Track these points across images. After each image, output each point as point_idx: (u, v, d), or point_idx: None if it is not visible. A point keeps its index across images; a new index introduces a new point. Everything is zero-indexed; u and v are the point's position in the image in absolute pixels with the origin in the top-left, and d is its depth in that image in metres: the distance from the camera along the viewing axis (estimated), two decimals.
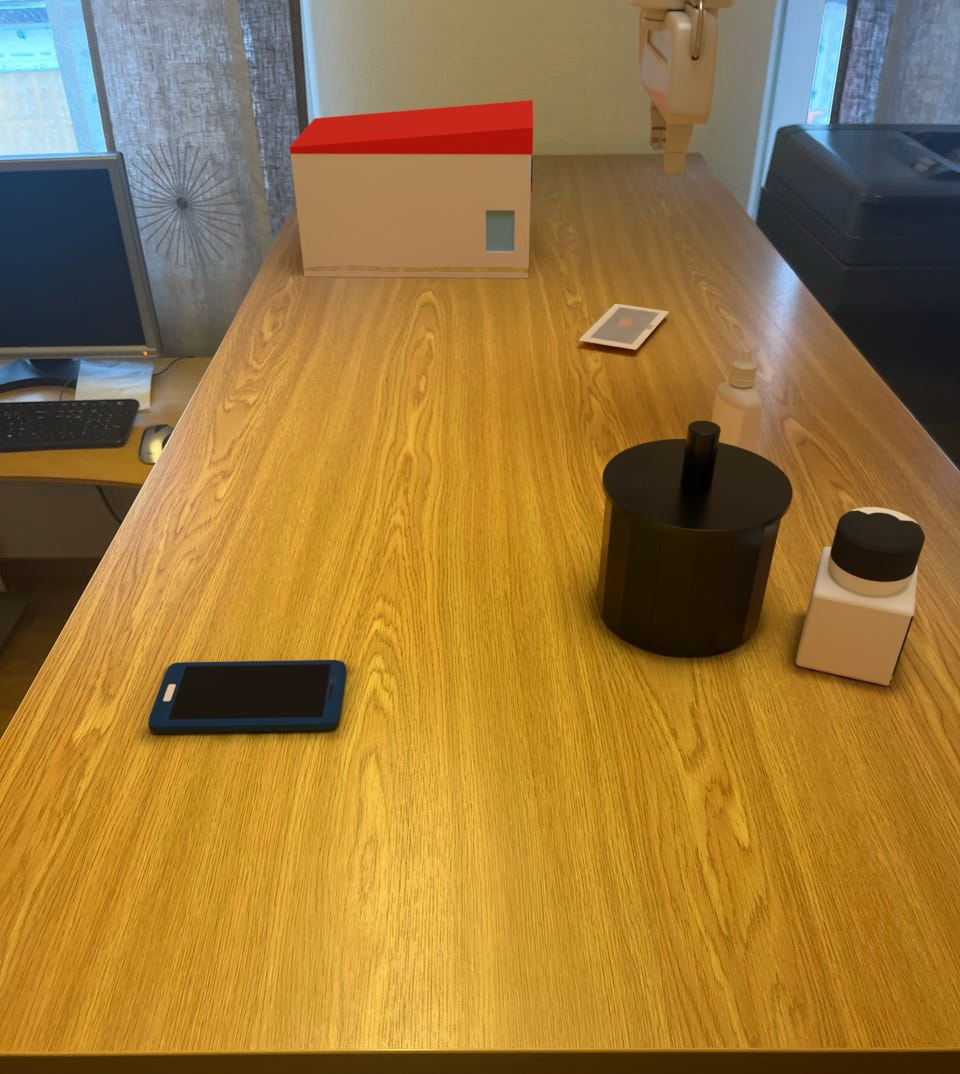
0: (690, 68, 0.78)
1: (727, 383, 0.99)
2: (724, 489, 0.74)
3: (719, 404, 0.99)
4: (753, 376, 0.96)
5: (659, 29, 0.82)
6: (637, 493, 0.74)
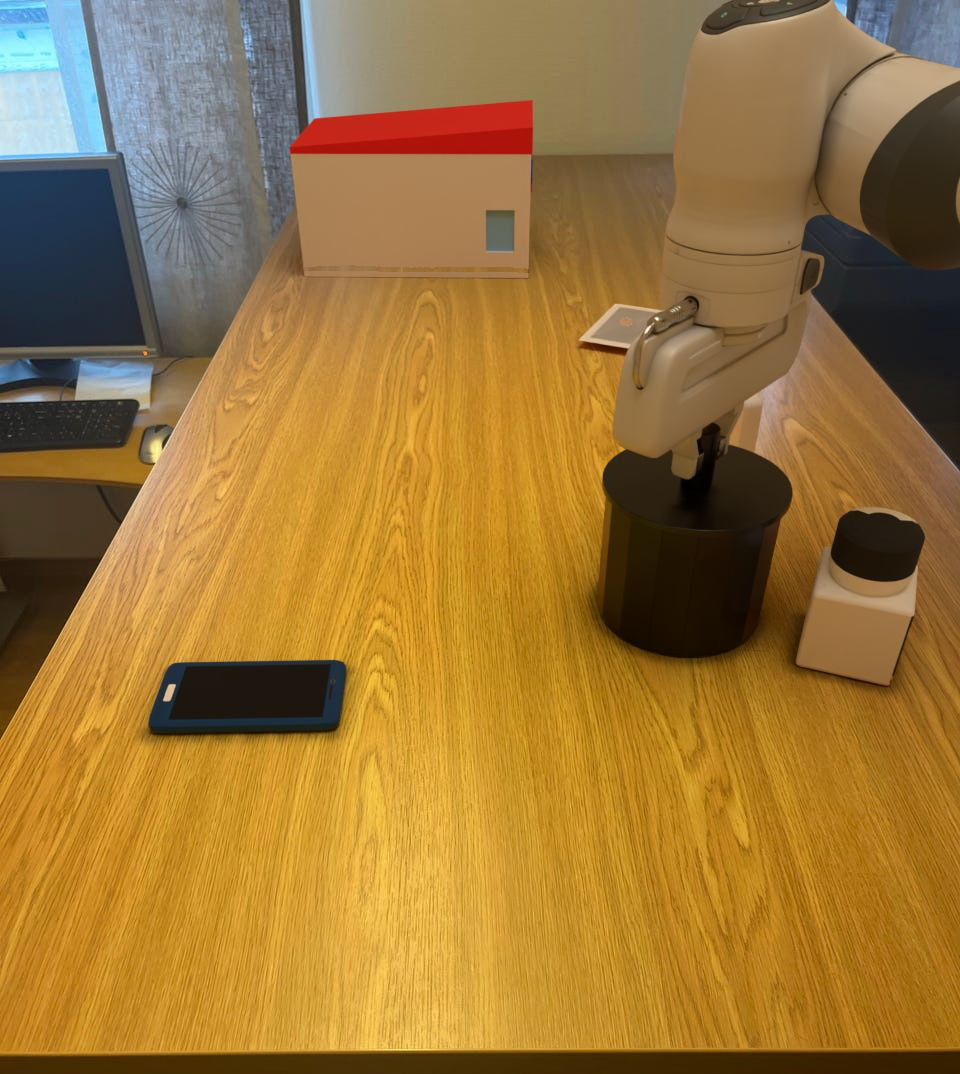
0: (633, 397, 0.63)
1: None
2: (724, 489, 0.74)
3: None
4: None
5: None
6: (637, 493, 0.74)
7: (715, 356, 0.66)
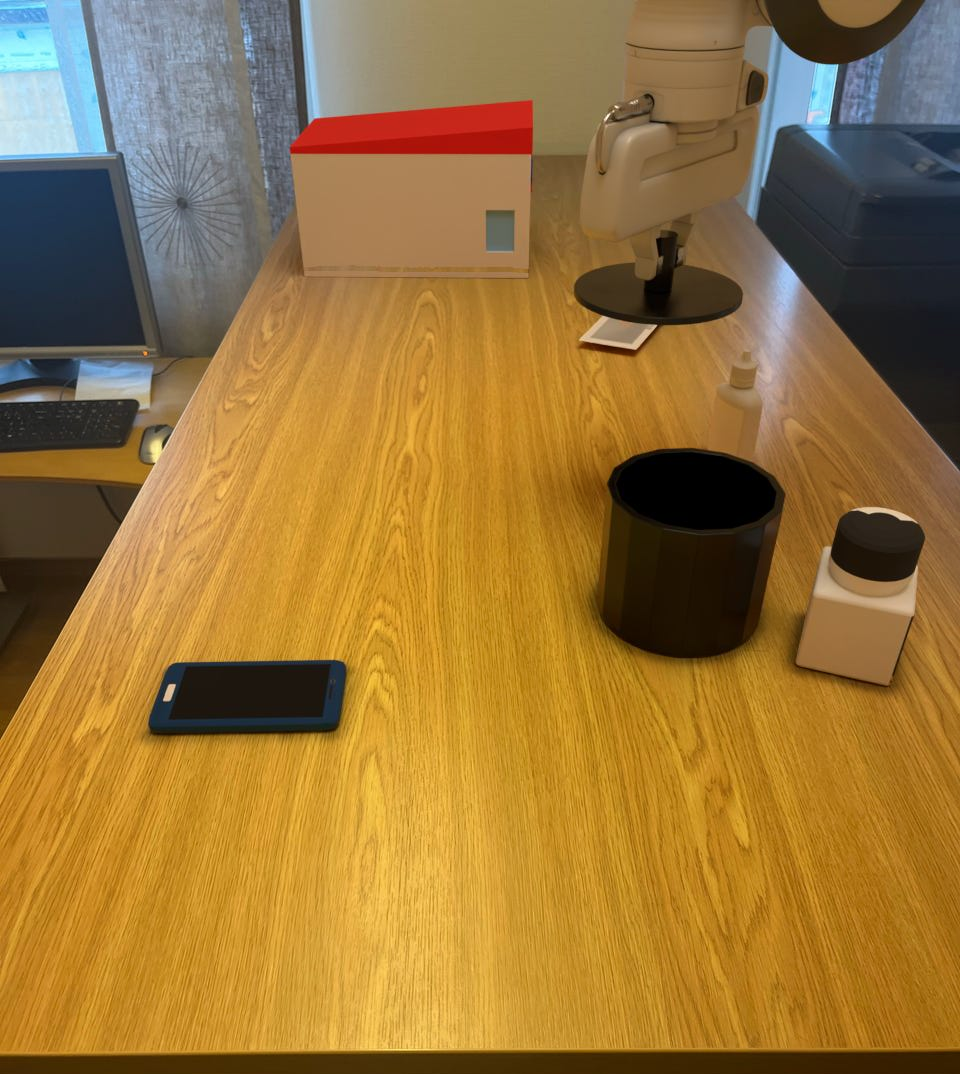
0: (597, 182, 0.72)
1: (727, 383, 0.99)
2: (682, 293, 0.83)
3: (719, 404, 0.99)
4: (753, 376, 0.96)
5: None
6: (604, 295, 0.83)
7: (670, 154, 0.75)
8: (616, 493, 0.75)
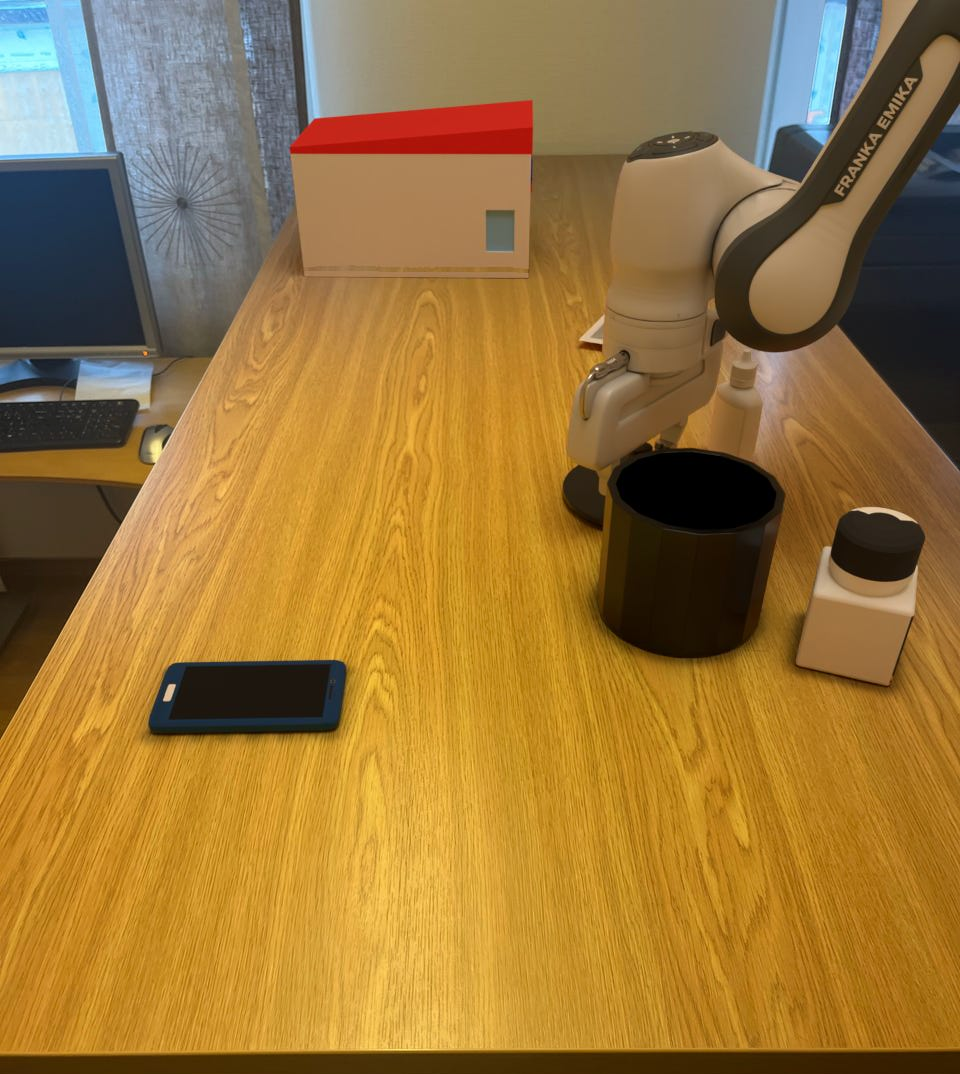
0: (581, 425, 0.84)
1: (727, 383, 0.99)
2: None
3: (719, 404, 0.99)
4: (753, 376, 0.96)
5: None
6: (589, 497, 0.95)
7: (644, 394, 0.87)
8: (616, 493, 0.75)
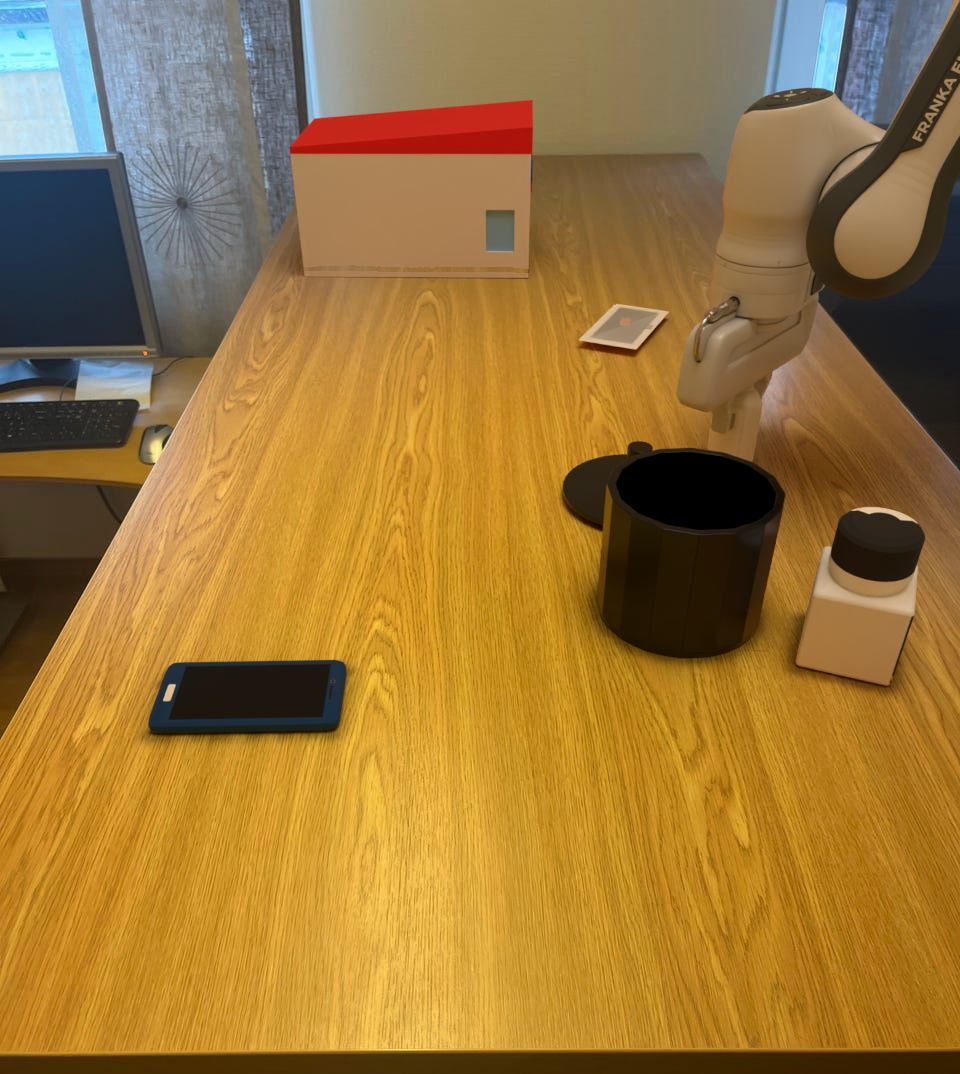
0: (693, 367, 0.89)
1: None
2: None
3: None
4: None
5: None
6: (589, 497, 0.95)
7: (750, 339, 0.92)
8: (616, 493, 0.75)
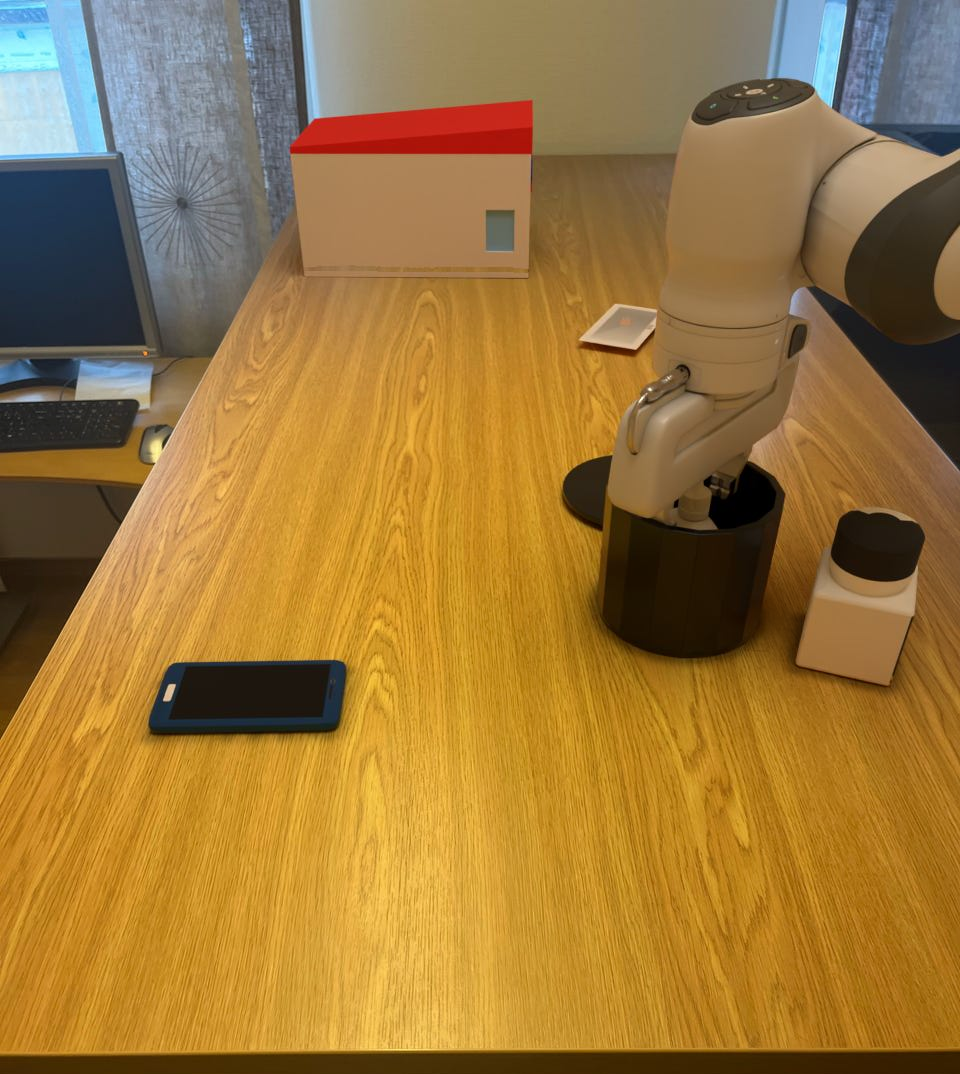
0: (628, 461, 0.66)
1: (674, 513, 0.78)
2: None
3: None
4: (708, 506, 0.76)
5: None
6: (589, 497, 0.95)
7: (706, 420, 0.68)
8: None
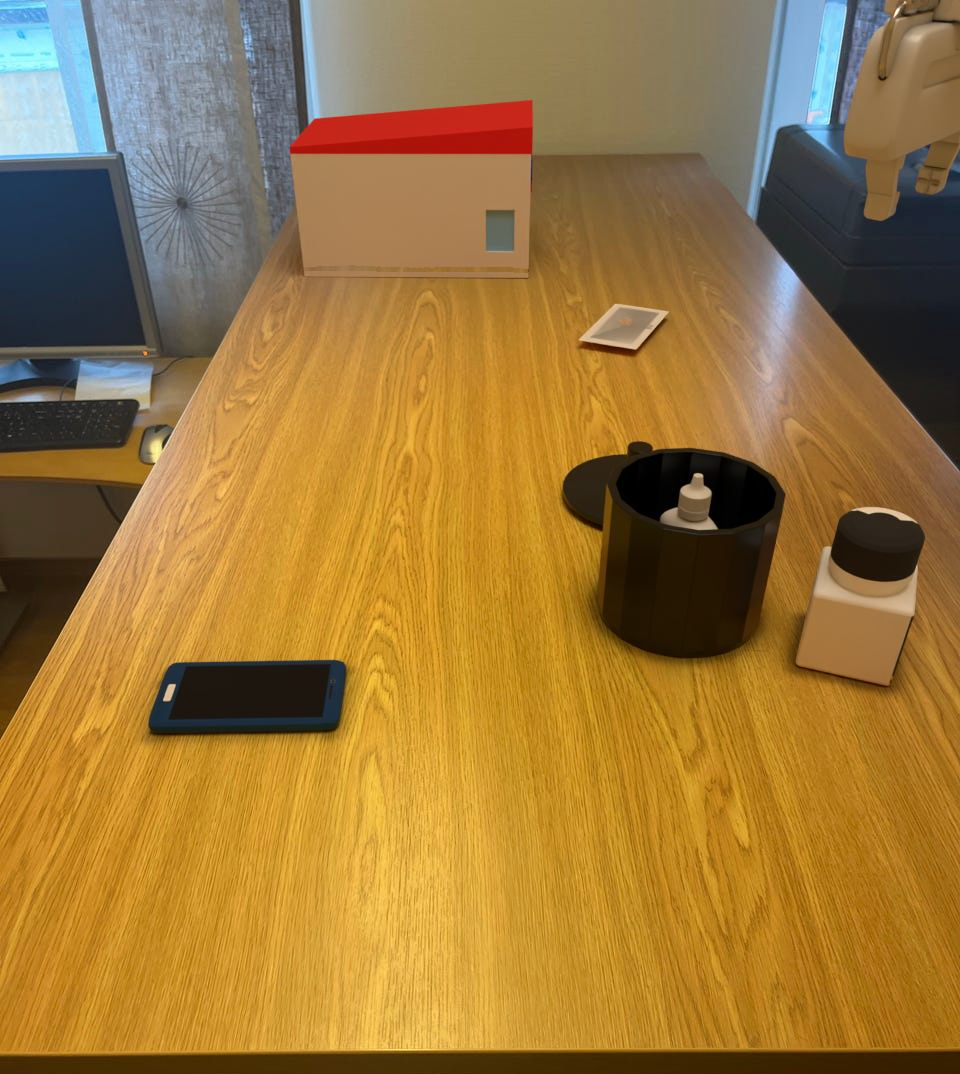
0: (874, 90, 0.63)
1: (674, 513, 0.78)
2: None
3: None
4: (708, 506, 0.76)
5: None
6: (589, 497, 0.95)
7: (947, 61, 0.65)
8: (616, 493, 0.75)
